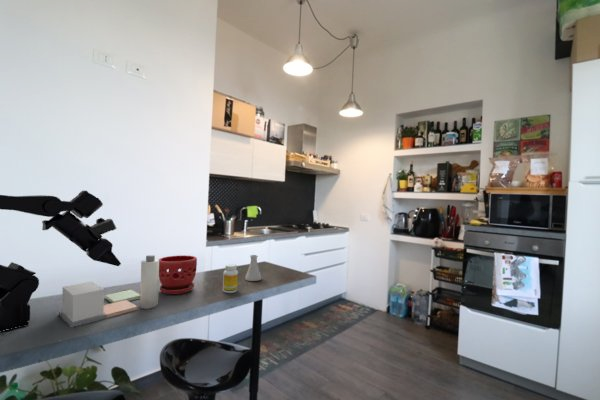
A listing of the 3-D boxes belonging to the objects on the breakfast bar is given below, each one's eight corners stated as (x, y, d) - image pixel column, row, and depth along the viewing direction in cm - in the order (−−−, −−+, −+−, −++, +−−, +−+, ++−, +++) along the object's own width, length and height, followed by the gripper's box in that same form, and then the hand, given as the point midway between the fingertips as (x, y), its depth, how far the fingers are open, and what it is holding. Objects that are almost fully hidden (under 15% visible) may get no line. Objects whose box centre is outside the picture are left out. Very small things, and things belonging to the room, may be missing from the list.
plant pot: (203, 288, 109) (204, 256, 109) (175, 299, 97) (176, 263, 97) (178, 282, 114) (179, 252, 114) (148, 292, 103) (149, 258, 102)
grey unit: (71, 327, 75) (72, 296, 75) (58, 314, 82) (59, 286, 82) (106, 318, 81) (107, 289, 81) (92, 306, 89) (92, 280, 88)
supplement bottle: (221, 289, 108) (221, 264, 108) (235, 287, 111) (235, 262, 111) (224, 294, 104) (225, 267, 103) (239, 292, 106) (240, 266, 106)
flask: (242, 277, 125) (243, 254, 124) (258, 276, 128) (259, 253, 128) (247, 282, 118) (247, 258, 118) (264, 280, 121) (264, 257, 121)
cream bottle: (144, 309, 88) (145, 258, 87) (137, 305, 91) (138, 255, 91) (160, 305, 92) (162, 255, 91) (153, 301, 95) (154, 253, 94)
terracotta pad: (106, 318, 81) (106, 314, 81) (96, 310, 86) (96, 306, 86) (137, 309, 87) (137, 306, 87) (126, 302, 92) (126, 299, 92)
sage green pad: (114, 304, 91) (114, 301, 91) (104, 298, 96) (105, 295, 96) (141, 298, 97) (141, 295, 97) (131, 292, 102) (131, 289, 102)
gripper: (104, 212, 83) (145, 247, 91) (92, 208, 96) (129, 239, 104) (68, 241, 77) (114, 276, 85) (61, 233, 91) (101, 264, 99)
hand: (116, 262), depth 93 cm, fingers open, 9 cm apart
